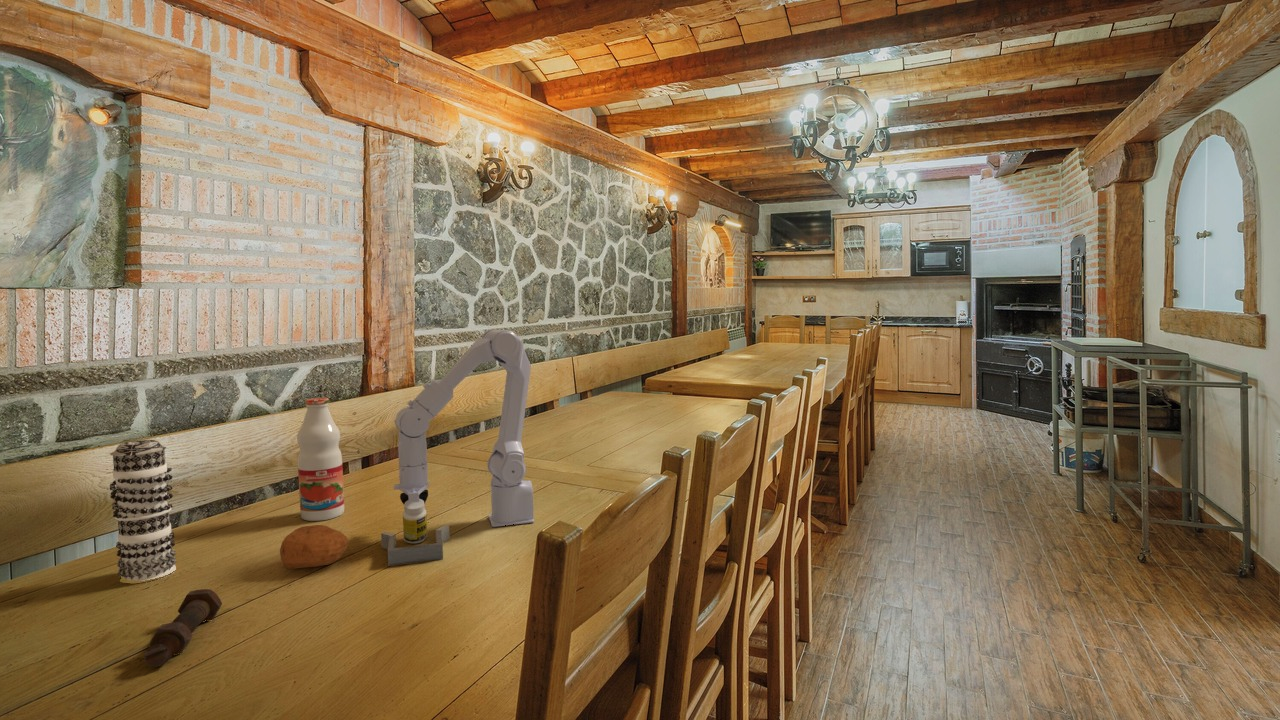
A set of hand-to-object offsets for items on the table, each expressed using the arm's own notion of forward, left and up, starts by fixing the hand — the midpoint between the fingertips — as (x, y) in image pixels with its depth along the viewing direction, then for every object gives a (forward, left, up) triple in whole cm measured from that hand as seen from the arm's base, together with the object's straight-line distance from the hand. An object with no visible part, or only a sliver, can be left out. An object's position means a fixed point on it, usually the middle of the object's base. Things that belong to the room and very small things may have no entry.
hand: (415, 525), depth 136 cm
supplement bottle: (0, +2, -2) cm, 3 cm away
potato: (+18, +9, -3) cm, 20 cm away
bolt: (+33, +34, -3) cm, 47 cm away
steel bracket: (0, +9, -2) cm, 9 cm away
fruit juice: (+21, -23, -3) cm, 31 cm away
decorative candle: (+47, +3, -3) cm, 47 cm away
